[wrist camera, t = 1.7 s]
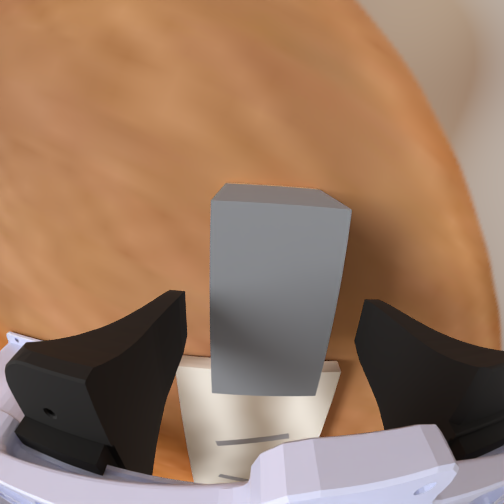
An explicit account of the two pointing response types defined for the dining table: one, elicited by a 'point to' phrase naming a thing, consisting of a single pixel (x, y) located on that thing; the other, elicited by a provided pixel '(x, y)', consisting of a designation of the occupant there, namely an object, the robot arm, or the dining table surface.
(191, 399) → the cream flat panel
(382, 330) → the robot arm
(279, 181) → the dining table surface
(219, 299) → the block
